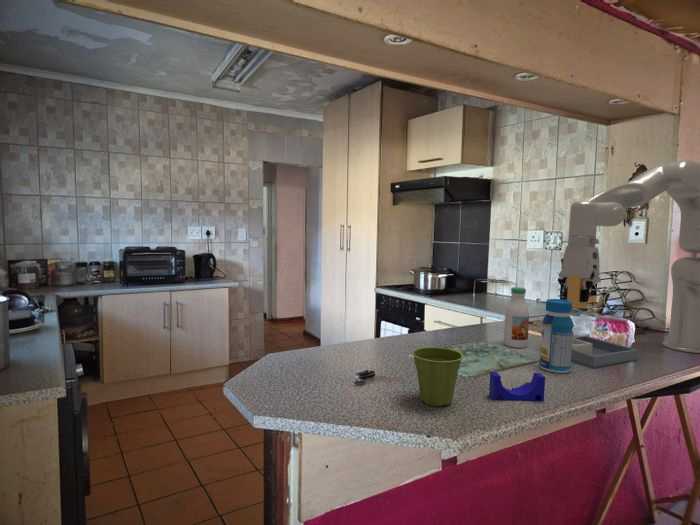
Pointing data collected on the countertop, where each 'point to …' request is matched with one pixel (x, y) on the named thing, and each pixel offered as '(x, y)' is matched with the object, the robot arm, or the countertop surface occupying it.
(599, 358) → the walled box
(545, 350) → the beverage bottle
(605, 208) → the robot arm
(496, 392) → the blue u-shaped cradle
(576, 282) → the orange square bottle
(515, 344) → the milk bottle
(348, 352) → the countertop surface
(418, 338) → the countertop surface
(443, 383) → the plant pot
